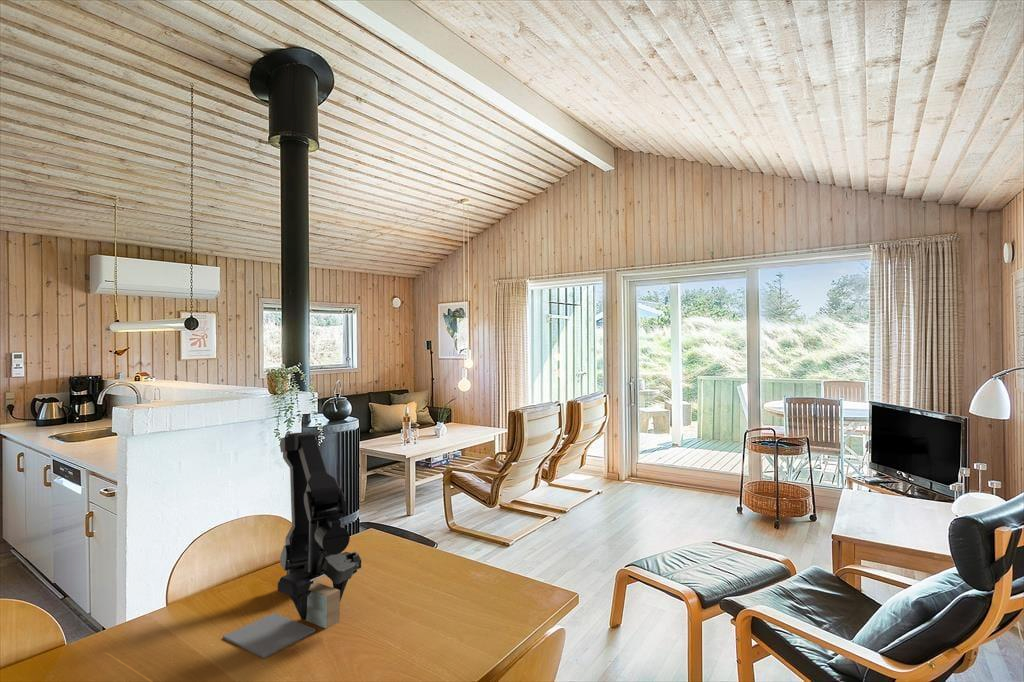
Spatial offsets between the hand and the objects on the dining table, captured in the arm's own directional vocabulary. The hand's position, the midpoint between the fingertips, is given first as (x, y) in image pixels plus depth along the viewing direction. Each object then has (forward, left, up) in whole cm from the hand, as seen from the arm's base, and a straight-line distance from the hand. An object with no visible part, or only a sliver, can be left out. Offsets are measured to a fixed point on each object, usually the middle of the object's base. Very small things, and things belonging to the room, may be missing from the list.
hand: (321, 611), depth 120 cm
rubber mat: (-4, -10, -2) cm, 11 cm away
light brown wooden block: (0, 0, -2) cm, 2 cm away
